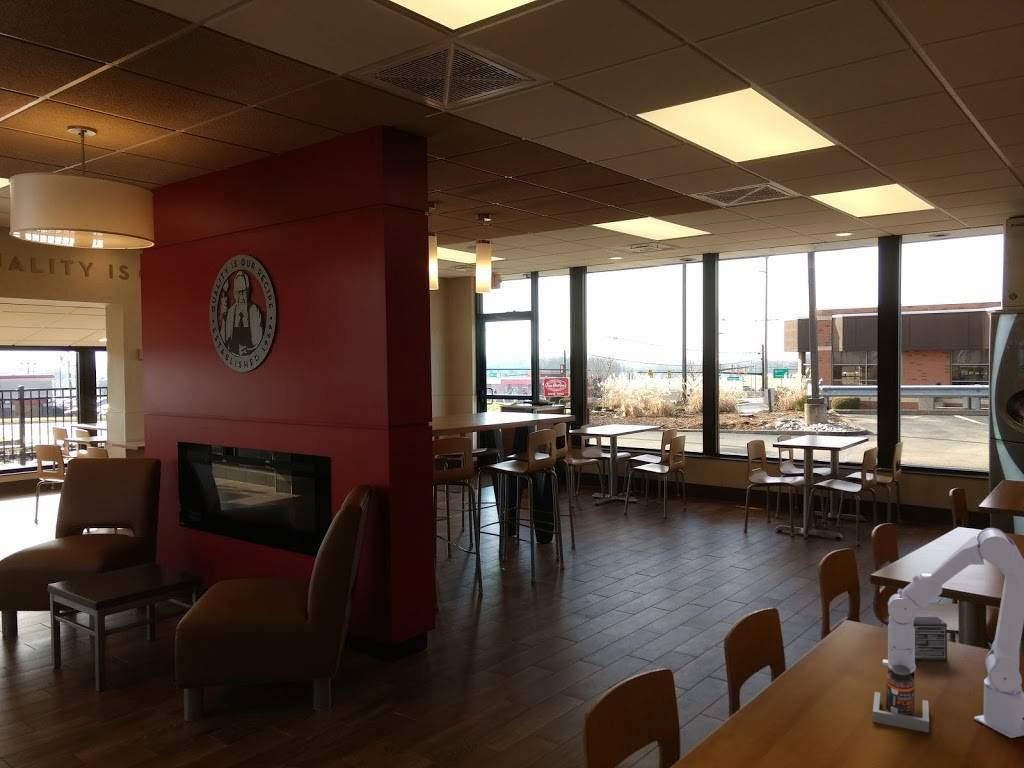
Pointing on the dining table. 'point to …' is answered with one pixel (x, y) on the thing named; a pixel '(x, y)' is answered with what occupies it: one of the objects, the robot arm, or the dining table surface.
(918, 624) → the small box
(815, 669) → the dining table surface
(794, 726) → the dining table surface
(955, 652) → the dining table surface
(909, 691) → the supplement bottle
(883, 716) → the grey u-shaped bracket
